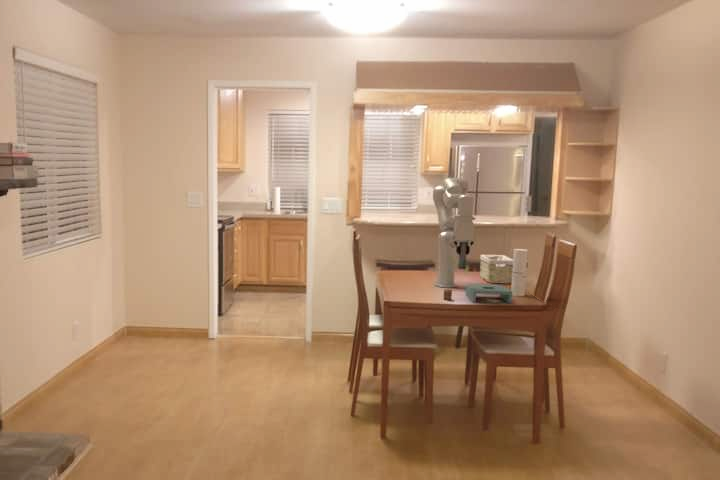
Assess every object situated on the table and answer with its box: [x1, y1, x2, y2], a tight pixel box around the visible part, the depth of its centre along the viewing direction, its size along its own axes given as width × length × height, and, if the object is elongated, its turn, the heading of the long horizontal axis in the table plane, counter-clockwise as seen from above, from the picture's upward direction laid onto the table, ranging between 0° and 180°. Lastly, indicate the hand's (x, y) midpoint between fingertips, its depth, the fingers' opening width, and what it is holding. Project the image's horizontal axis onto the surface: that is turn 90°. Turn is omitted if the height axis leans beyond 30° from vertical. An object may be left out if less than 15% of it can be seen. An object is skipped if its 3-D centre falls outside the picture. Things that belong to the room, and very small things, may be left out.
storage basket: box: [479, 254, 513, 284], centre depth 348 cm, size 24×16×15 cm
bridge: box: [465, 283, 513, 304], centre depth 293 cm, size 16×20×6 cm
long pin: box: [457, 242, 468, 270], centre depth 293 cm, size 4×4×14 cm
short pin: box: [443, 288, 453, 301], centre depth 289 cm, size 4×4×5 cm
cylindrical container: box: [510, 248, 529, 297], centre depth 306 cm, size 7×7×25 cm
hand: (462, 253), depth 293 cm, fingers closed on long pin, 4 cm apart
